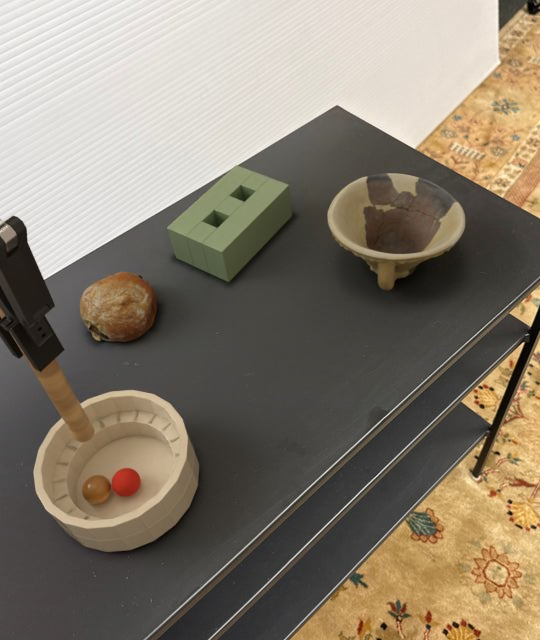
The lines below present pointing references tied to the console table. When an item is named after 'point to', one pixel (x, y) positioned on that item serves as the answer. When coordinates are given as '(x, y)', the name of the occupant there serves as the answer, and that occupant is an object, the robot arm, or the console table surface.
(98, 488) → the bead
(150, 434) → the mixing bowl
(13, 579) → the console table surface
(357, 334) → the console table surface
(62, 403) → the stick
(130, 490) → the bead
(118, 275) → the bread roll
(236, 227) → the holder
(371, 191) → the bowl
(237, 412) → the console table surface
